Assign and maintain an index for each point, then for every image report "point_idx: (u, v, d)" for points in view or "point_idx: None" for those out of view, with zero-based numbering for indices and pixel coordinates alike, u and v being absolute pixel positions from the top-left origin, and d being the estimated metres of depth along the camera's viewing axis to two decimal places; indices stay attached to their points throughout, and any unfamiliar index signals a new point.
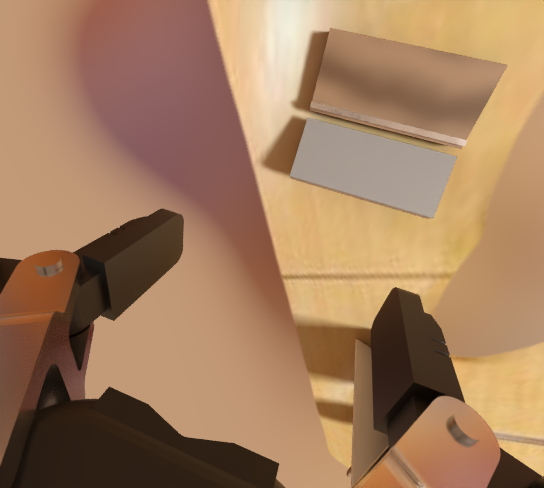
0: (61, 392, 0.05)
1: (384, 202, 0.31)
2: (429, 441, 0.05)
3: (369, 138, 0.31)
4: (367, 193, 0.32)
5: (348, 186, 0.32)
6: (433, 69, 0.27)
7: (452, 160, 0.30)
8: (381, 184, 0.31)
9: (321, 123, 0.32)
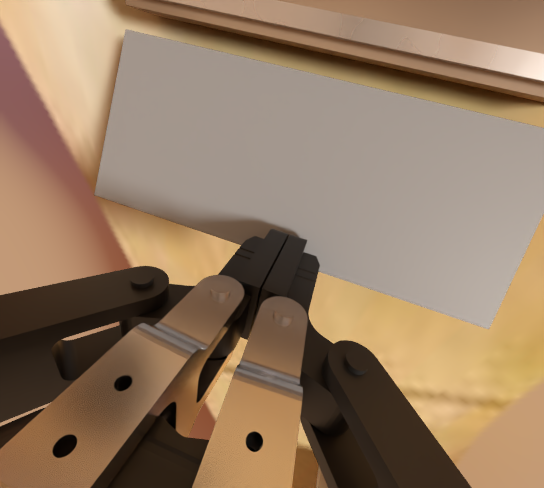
0: (171, 423, 0.05)
1: (342, 275, 0.11)
2: (264, 338, 0.06)
3: (295, 84, 0.10)
4: None
5: (242, 228, 0.11)
6: None
7: None
8: (333, 222, 0.11)
9: (162, 44, 0.11)
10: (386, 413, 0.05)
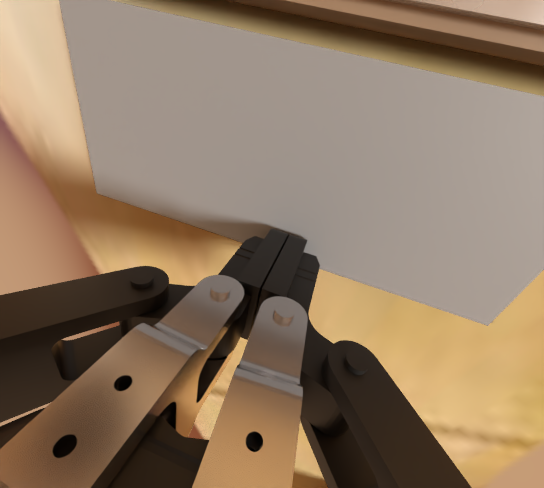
0: (171, 423, 0.05)
1: (342, 273, 0.11)
2: (264, 338, 0.06)
3: (281, 61, 0.08)
4: None
5: (241, 227, 0.11)
6: None
7: None
8: (333, 225, 0.10)
9: (106, 9, 0.08)
10: (386, 413, 0.05)
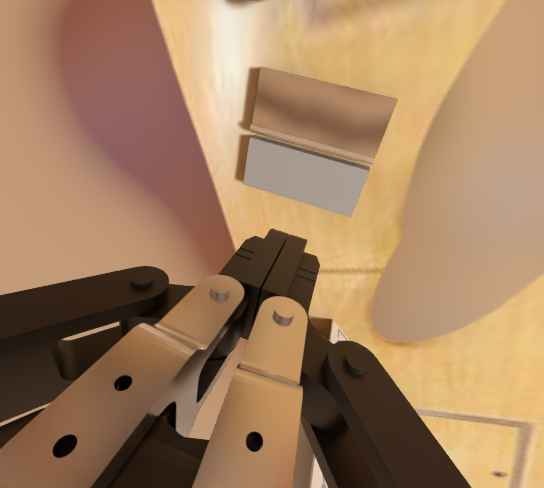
0: (171, 423, 0.05)
1: (314, 205, 0.40)
2: (264, 338, 0.06)
3: (299, 155, 0.37)
4: (301, 198, 0.40)
5: (287, 193, 0.41)
6: (342, 101, 0.33)
7: (365, 174, 0.36)
8: (311, 191, 0.39)
9: (261, 142, 0.38)
10: (386, 413, 0.05)
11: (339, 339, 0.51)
